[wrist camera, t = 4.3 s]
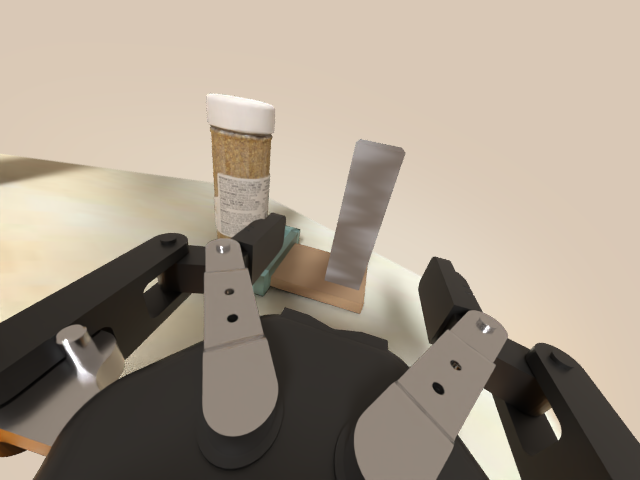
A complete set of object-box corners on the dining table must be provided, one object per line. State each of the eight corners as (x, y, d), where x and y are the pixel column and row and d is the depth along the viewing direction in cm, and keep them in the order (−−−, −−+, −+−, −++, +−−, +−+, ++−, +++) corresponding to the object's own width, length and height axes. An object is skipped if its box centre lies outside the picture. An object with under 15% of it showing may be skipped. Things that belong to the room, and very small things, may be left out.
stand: (176, 268, 19) (146, 103, 13) (234, 227, 26) (232, 109, 20) (358, 326, 17) (420, 161, 11) (365, 264, 24) (405, 145, 18)
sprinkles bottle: (229, 241, 24) (224, 94, 18) (271, 249, 24) (282, 105, 18) (207, 266, 20) (190, 88, 14) (257, 275, 20) (264, 102, 14)
